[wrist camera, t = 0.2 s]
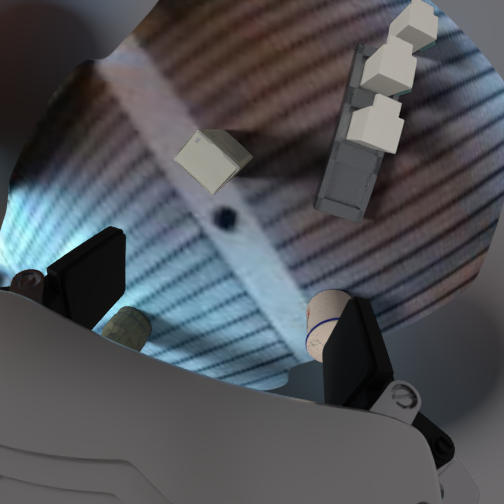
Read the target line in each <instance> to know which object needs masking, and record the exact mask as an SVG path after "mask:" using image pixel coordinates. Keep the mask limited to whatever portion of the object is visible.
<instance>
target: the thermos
mask: <svg viewBox="0 0 504 504" xmlns="http://www.w3.org/2000/svg"><path fill="white" fill-rule="evenodd" d="M151 331H152V328H151V324H150V322H149V320H148V319H147V317H146V316H145V315H144V314H143V313H142V312H141V311H139V310H137V309H136V308H133V307H130V306H128V307H122V308H121V309H120V310H119V311H118V312H117V314H115V315H114V316H113V317H112V318H111V319H110V320H109V322H108V323H107V324H106V325H105V327H104V328H103V330H102V334H101V335H102V336H104V337H106V338H108V339H111V340H113V341H115V342H117V343H120V344H122V345H124V346H127V347H129V348H131V349H134V350H136V351H139V352H140V351H141V350H142V348H143V346H144V345H145V343H146V341H147V338H148V337H149V336H150V334H151Z"/></svg>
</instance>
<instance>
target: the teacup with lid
mask: <svg viewBox="0 0 504 504" xmlns="http://www.w3.org/2000/svg"><path fill="white" fill-rule="evenodd" d="M350 298H351V297H350V296H349V295H348V294H347V293H345V292H343V291H340V290H326V291H323V292H320V293H318V294H317V295H315V296H314V297H313V298H312V299H311V300H310V302H309V304H308V306H307V310H306V315H307V338H306V348H307V350H308V352H309V354H310V355H311V356H312V357H313V358H314V359H316V360H317V361H320V362H323V361H322V351H323V348H324V345H325V344H326V342H327V340H328V338H329V336H330V335H331V333H332V331H333V329H334V327H335V325H336V323H337V321H338V319H339V318H340V316H341V314H342V312H343V310H344V308H345V306H346V304H347V302H348V300H349V299H350ZM351 299H352V298H351Z"/></svg>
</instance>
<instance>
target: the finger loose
mask: <svg viewBox="0 0 504 504" xmlns="http://www.w3.org/2000/svg"><path fill="white" fill-rule="evenodd" d="M433 10H434V7H432V6H430V5H428V4H427V3H425V2H423V1H421V0H412V3H411V4H410V5H409V6H408V7H407V8H406V9H405V10H404V11H403V12H402V13H401V14H400V15H399V16H398V17H397V18H396V19H395V20H394V21H393V22H392V23H391V24H390V29H389V34H388V37H389V36H390V35H393V36H395V37H397V38H400V39H402V40H404V41H406V42H408V43H410V44H412V45H413V50H412V53H414V52H415V51H417V50H419V51H421V52H423V51H425V50H426V49H428V48H430V47H432V46H434V45H435V41H436V38H437V28H438V17H436V16H435V15H433Z"/></svg>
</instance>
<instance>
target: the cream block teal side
mask: <svg viewBox="0 0 504 504" xmlns="http://www.w3.org/2000/svg"><path fill="white" fill-rule="evenodd" d="M412 50H413V45H412V44H410V43H408V42H406V41H404V40H402V39H400V38H397V37H395V36H393V35H390V36H389V37H388V39H387V44H384V45H383V46H382V47H380V48H379V49H378V50H377V51H376V52H375V53H374V54H373V55H372V56H371V57H370V58H369V59H368V60H367V61H366V62H365V65H364V69H363V73H362V78H361V82H360V87H363V88H365V89H368V90H370V91H373V92H375V93H378V94H381V95H384V96H386V97H388V96H390V95H393V94H395V95H397V96H399V95H403V94H406V93H409V92H411V91H412V86H413V81H414V76H415V70H416V63H417V58H415V57H413V56H412Z"/></svg>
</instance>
